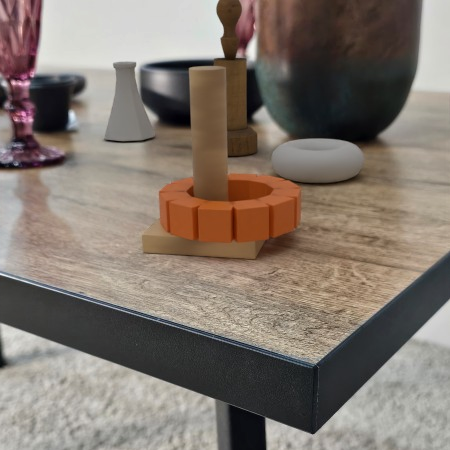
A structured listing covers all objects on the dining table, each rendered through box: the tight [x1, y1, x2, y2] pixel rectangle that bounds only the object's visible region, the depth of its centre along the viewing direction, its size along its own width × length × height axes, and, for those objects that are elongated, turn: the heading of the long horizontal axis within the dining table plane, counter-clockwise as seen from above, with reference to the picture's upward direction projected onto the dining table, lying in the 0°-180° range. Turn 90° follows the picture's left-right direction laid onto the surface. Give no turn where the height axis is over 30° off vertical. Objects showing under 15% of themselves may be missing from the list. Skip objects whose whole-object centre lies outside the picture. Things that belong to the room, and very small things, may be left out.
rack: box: [141, 65, 267, 260], centre depth 59 cm, size 9×9×14 cm
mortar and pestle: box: [213, 0, 259, 157], centre depth 89 cm, size 7×6×18 cm
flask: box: [103, 61, 155, 142], centre depth 101 cm, size 7×7×10 cm
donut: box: [270, 138, 365, 184], centre depth 80 cm, size 10×4×10 cm
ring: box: [158, 172, 302, 243], centre depth 60 cm, size 11×11×3 cm
